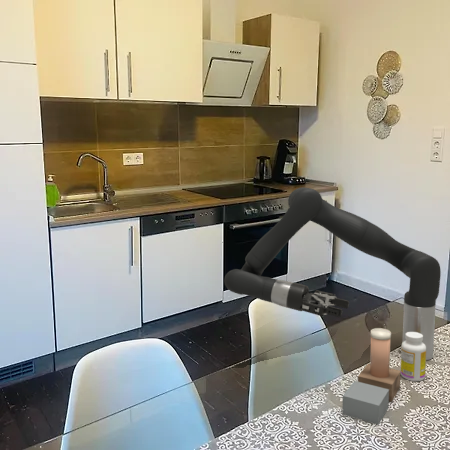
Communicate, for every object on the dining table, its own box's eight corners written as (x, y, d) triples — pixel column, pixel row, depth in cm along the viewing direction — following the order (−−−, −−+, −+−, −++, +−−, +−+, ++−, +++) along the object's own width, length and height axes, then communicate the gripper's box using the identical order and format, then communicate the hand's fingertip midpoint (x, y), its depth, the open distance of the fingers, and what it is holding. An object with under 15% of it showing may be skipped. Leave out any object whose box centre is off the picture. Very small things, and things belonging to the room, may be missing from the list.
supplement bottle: (421, 371, 141) (422, 330, 139) (428, 382, 134) (430, 339, 132) (397, 371, 141) (399, 330, 139) (403, 381, 135) (405, 339, 133)
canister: (372, 367, 133) (373, 326, 131) (391, 371, 130) (393, 330, 128) (367, 375, 129) (368, 333, 127) (386, 379, 126) (388, 336, 124)
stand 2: (354, 398, 127) (354, 380, 126) (388, 407, 122) (389, 389, 121) (342, 414, 119) (342, 395, 118) (378, 424, 114) (379, 405, 114)
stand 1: (367, 379, 137) (368, 363, 136) (400, 387, 132) (400, 370, 131) (357, 393, 129) (358, 376, 128) (391, 402, 124) (392, 384, 123)
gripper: (283, 288, 131) (341, 303, 124) (299, 277, 143) (352, 290, 137) (279, 314, 132) (337, 329, 125) (295, 300, 145) (348, 314, 138)
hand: (345, 309), depth 131 cm, fingers open, 8 cm apart
